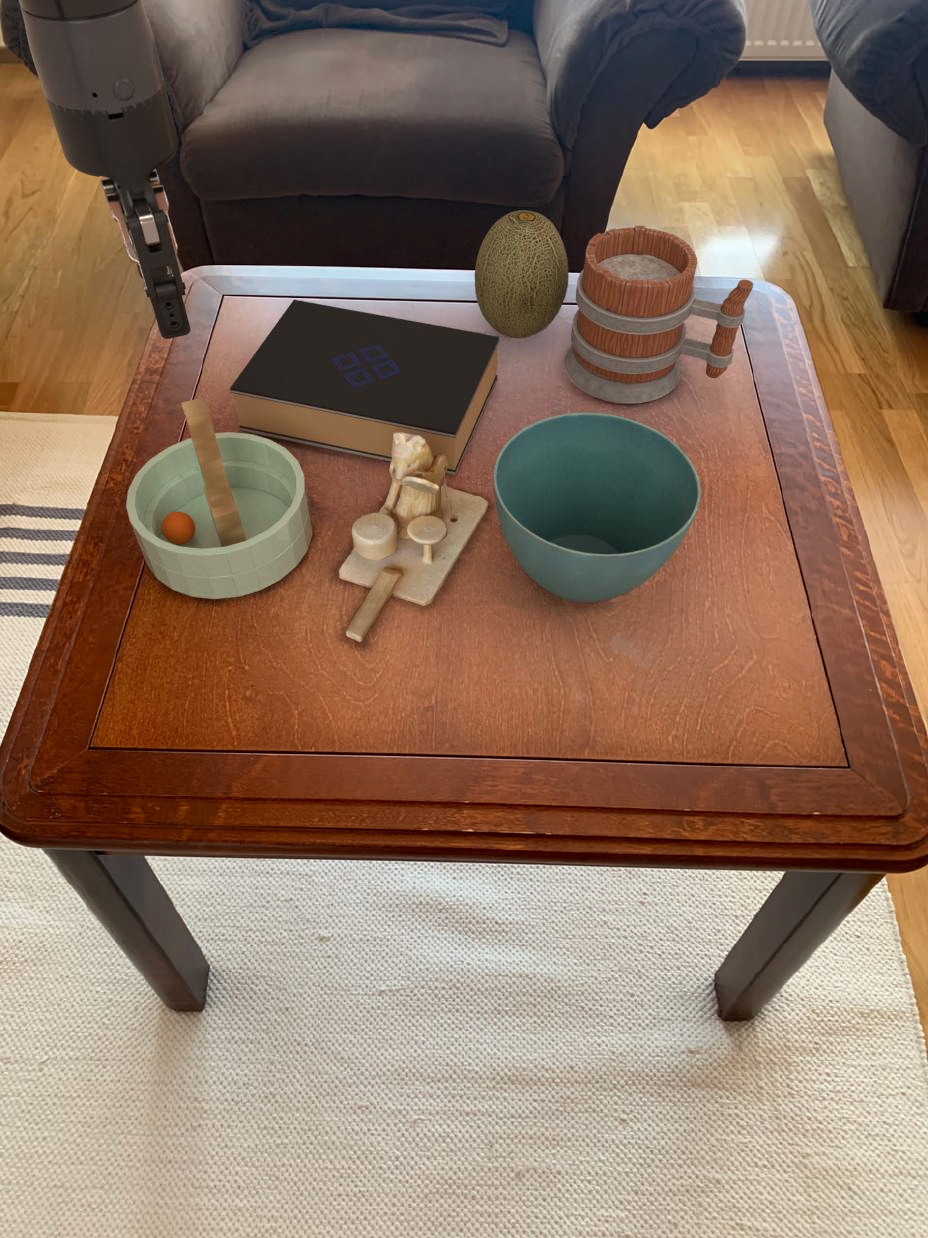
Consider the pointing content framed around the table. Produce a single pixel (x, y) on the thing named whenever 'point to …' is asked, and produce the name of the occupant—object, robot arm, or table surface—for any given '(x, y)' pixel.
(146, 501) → the bowl
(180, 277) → the robot arm
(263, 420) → the book
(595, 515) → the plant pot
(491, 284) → the fruit
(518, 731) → the table surface
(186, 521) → the ball
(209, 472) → the stick
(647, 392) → the mug
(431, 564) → the wooden toy
